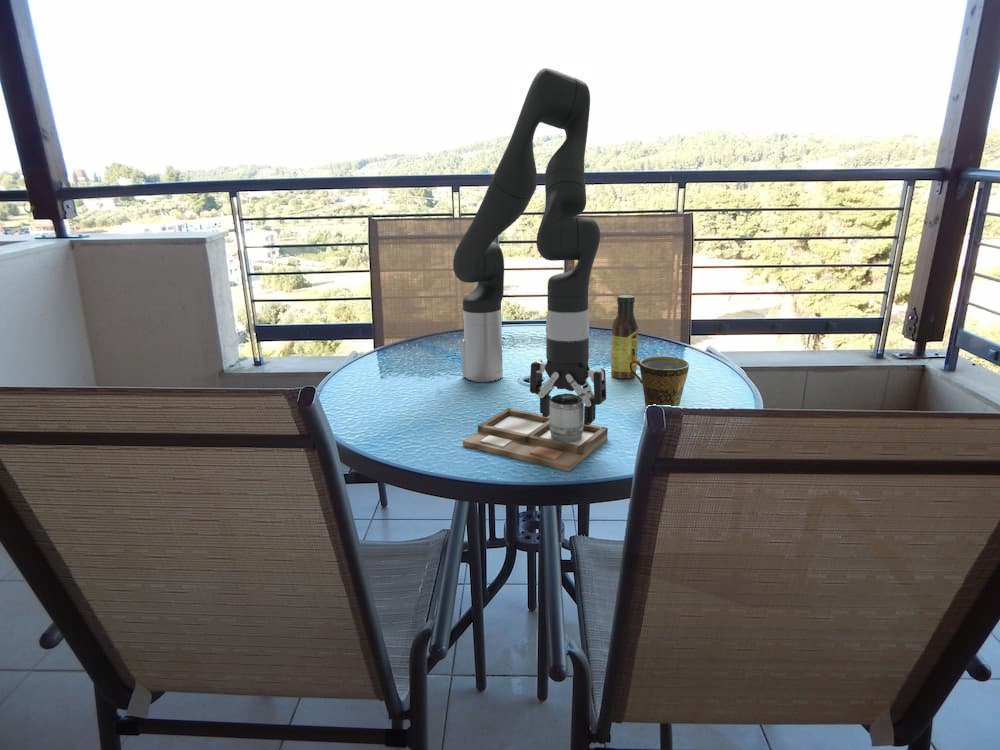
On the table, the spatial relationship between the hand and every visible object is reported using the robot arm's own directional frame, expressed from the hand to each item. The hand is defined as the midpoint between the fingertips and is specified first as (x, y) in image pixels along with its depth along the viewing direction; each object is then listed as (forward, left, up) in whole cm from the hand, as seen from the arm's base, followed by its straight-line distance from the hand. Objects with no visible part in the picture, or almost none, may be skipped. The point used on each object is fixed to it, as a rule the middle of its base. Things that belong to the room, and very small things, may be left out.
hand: (566, 419), depth 115 cm
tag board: (-5, -3, -5) cm, 7 cm away
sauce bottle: (-6, +43, -5) cm, 44 cm away
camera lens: (0, 0, -4) cm, 4 cm away
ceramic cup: (+8, +26, -5) cm, 28 cm away
